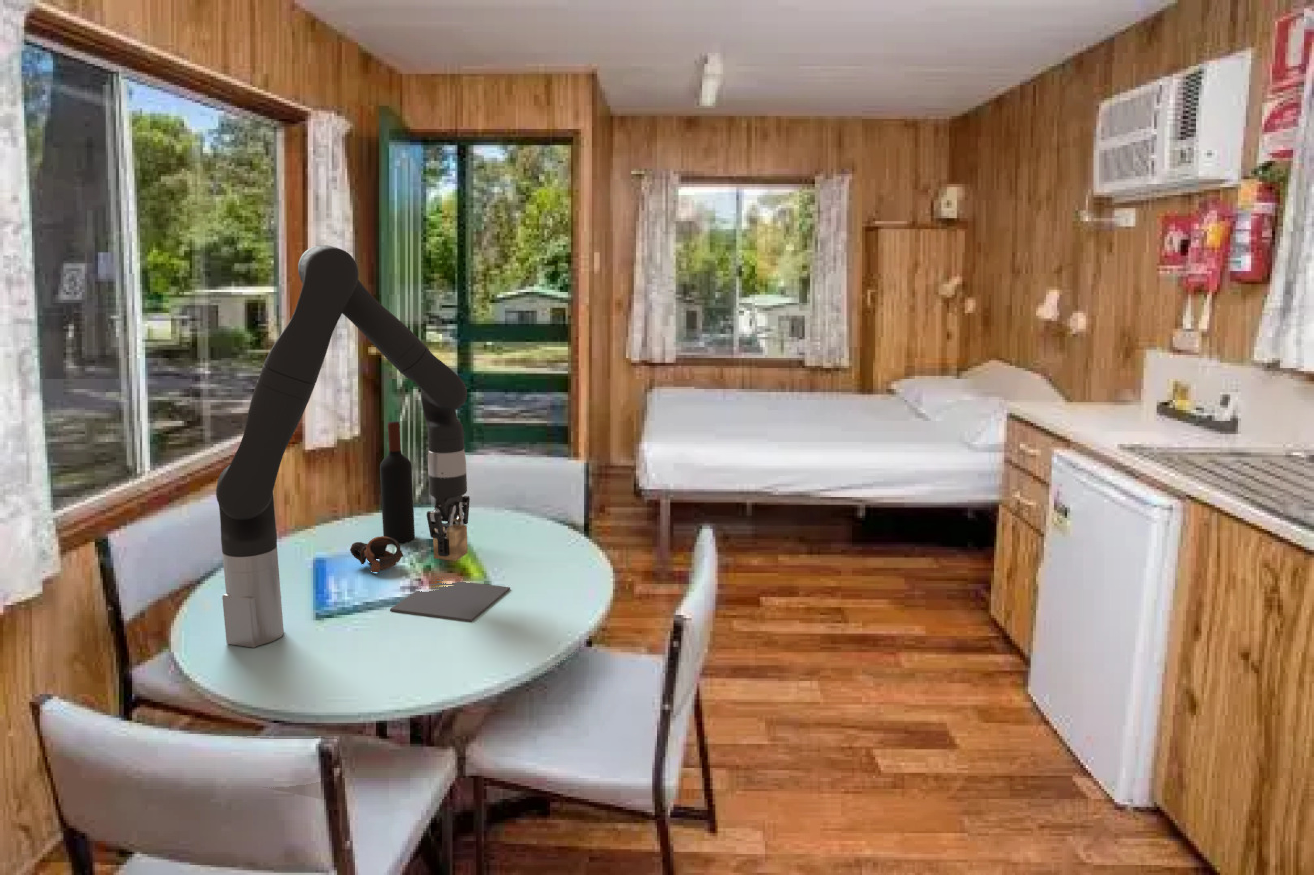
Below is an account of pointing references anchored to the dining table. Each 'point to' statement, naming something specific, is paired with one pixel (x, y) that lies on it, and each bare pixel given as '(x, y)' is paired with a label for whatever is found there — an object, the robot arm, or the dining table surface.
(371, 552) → the brown hollow rounded piece
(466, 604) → the charcoal mat
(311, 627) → the dining table surface
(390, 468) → the wine bottle
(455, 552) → the oak block
